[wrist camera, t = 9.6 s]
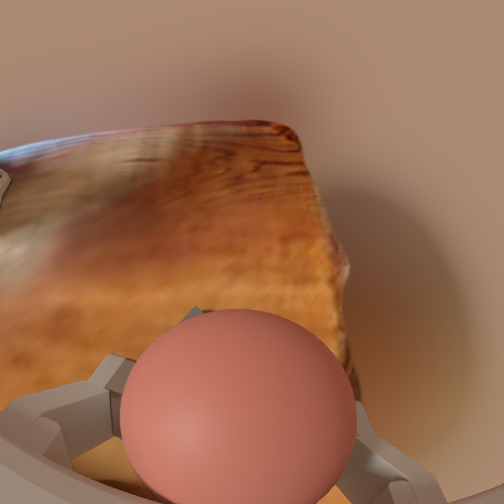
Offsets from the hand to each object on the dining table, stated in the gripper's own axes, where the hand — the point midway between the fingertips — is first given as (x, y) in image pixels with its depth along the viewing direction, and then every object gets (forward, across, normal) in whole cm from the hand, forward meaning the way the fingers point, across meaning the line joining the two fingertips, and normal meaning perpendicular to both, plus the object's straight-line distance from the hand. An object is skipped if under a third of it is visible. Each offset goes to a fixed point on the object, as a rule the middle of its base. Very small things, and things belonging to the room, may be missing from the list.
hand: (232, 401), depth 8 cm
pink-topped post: (+4, 0, +5) cm, 7 cm away
